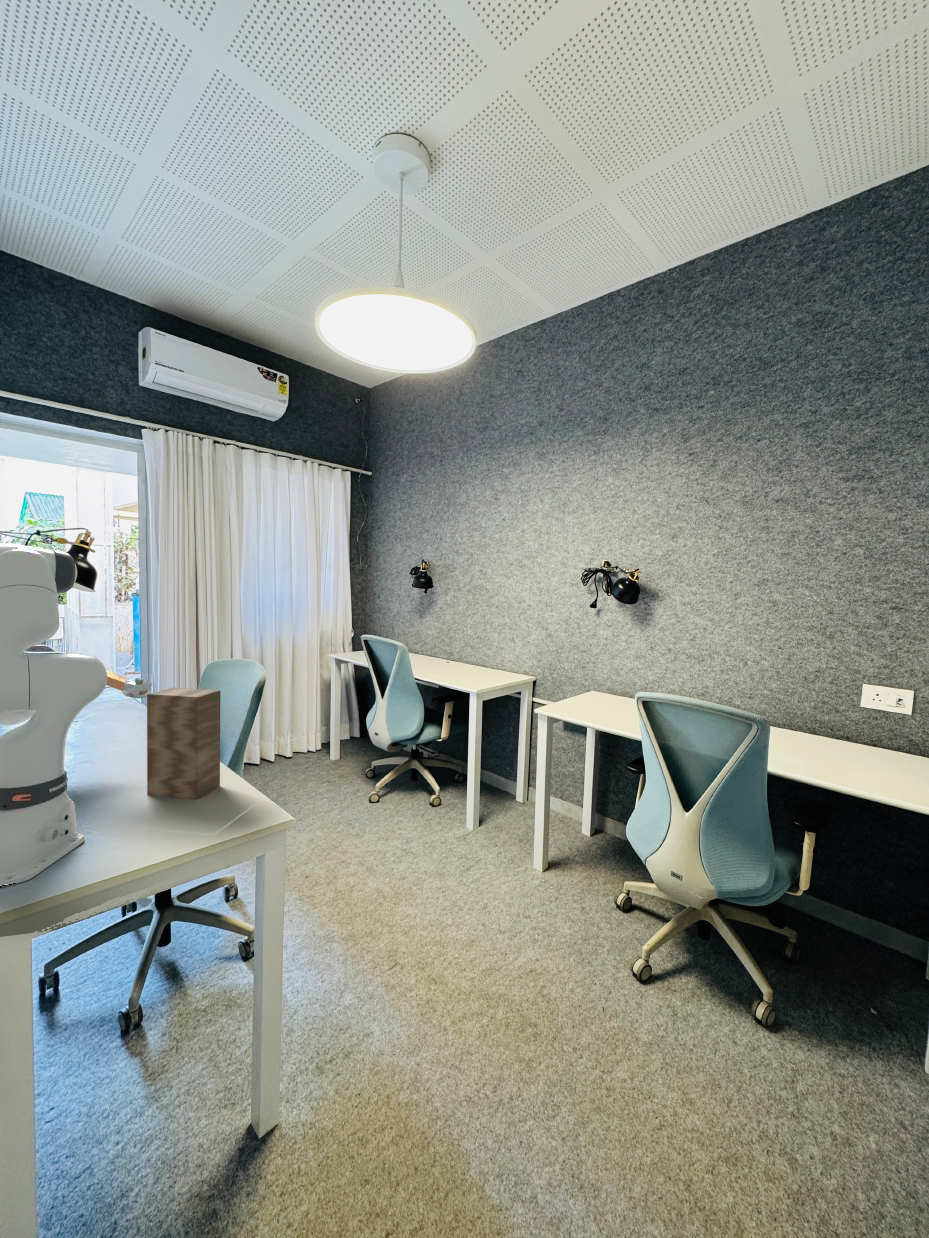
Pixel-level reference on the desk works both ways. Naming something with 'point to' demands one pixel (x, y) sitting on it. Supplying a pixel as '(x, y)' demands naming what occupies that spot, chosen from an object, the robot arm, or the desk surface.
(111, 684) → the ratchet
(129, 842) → the desk surface
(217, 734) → the pedestal
